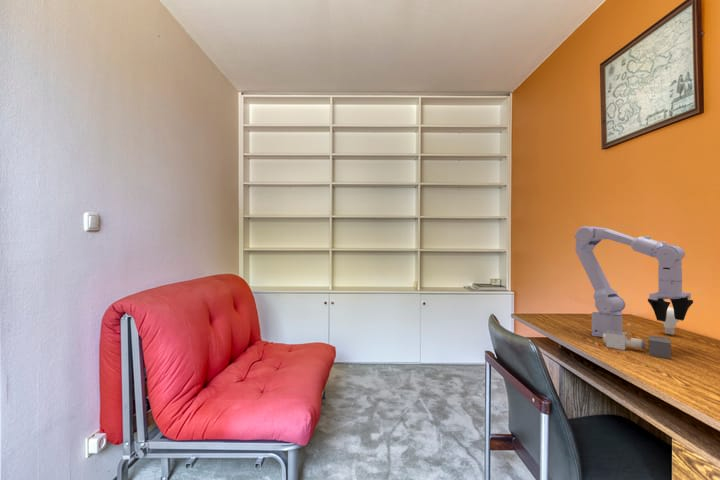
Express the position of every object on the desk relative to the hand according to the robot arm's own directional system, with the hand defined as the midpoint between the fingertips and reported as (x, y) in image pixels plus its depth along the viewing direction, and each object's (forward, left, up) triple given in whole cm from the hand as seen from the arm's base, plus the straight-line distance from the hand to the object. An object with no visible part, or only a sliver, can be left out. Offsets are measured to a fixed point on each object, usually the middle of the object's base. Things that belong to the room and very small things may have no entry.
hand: (670, 320), depth 105 cm
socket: (-3, -8, -10) cm, 13 cm away
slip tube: (-12, -8, -9) cm, 17 cm away
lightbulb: (+1, +24, -10) cm, 26 cm away
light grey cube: (-14, -8, -10) cm, 19 cm away
